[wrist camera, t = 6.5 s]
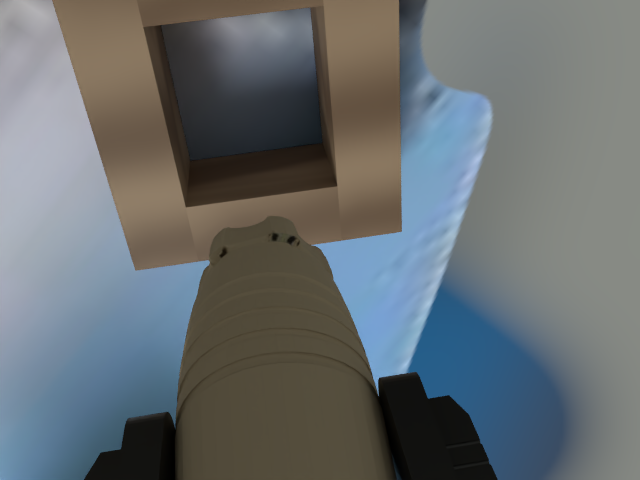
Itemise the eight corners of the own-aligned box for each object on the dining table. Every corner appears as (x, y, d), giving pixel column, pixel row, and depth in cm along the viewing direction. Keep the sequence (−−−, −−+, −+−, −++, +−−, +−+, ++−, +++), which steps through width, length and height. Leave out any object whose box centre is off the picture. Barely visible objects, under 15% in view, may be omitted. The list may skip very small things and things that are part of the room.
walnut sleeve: (66, -66, 26) (36, -50, 21) (370, -99, 27) (397, -90, 22) (146, 218, 33) (135, 270, 29) (379, 185, 34) (401, 231, 30)
